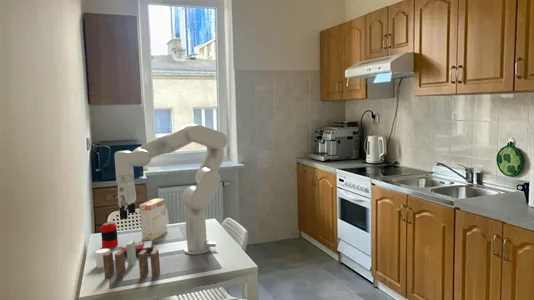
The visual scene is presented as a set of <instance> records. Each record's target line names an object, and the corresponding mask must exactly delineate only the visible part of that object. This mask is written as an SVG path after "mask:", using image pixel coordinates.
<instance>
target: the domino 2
mask: <svg viewBox="0 0 534 300" xmlns="http://www.w3.org/2000/svg"><path fill="white" fill-rule="evenodd" d="M114 263H115V264H114V265H115V275H116V279H122V278H123V277H124V276H125V274H126V273H127V270H126V257H124V251H121V250H118V251H117V252H116V253H115V254H114Z"/></svg>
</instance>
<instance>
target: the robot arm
mask: <svg viewBox="0 0 534 300" xmlns="http://www.w3.org/2000/svg"><path fill="white" fill-rule="evenodd" d="M193 143H195V144H199V145H201V146H205V147H206V155H205V157H204V159H203V161H202V163H201V165H200V166H199V168H198V170H197V171H196V173H195V177H194V178H195V182H196V184H197V185H196V186H194V185H192V186H189V187H187V188H186V189H185V190H184V191H183V194H182V202H183V207H184V209H183V210H184V217H185V218H184V219H185V232H186V244H187V246H186V247H184V249H183V250H184V253H185V254H187V255H192V256H193V255H195V256H196V255H202V254H205V253H208V252H209V251H210V250H211V248H216V246H217V245H216V244H217V243H216V242H215V241H209V239H208V238H207V224H206V211H205V209H206V208H207V207H208V206H209V204H210V203H211V201H212V200H213V198H214V196H215V194H216V192H217V191H218V188H219V186H220V185H221V184H220V183H221V174H220V173H219V170H220V168H221V166H222V164H223V162H224V157H225V152H224V148H226V147H227V145H228V136H227V135H226V134H225V133H224V132H222V131H219V130H216V129H213V128H210V127H207V126H204V125H201V124H196V123H189V124H186V125H184V126H183V127H181V128H178V129H175V130H174V131H172V132H170V133H167V134H165V135H163V136H161V137H159V138H157V139H154V140H151V141H150V142H147V143H144V144H143V145H141V146H138V147H137V148H135V149H133V150H132V151H130V150H118V151H116V152H114V166H115V178H116V179H115V181H116V183H117V200H118V202H117V204H118V205H117V207H118V212H119V219H120V220H127V219H128V217H129V215H128V214H136V201H137V193H136V192H137V191H136V185H135V173H134V167H145V166H147V165H149V164H150V163H151V162H152V159H153V158H156V157H158V156H161V155H165V154H166V155H167V154H171V153H174V152H176V151H179V150H180V149H182V148H184V147H187V146H188V145H190V144H193Z"/></svg>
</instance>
